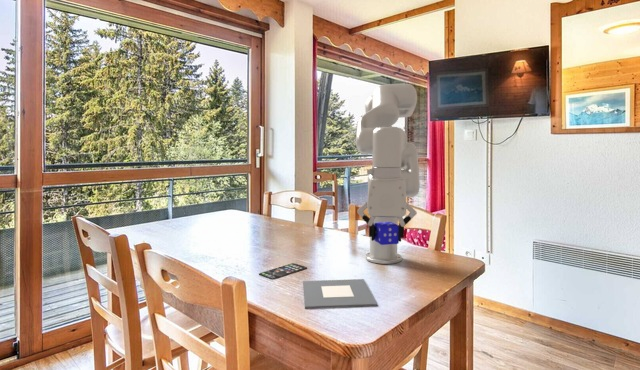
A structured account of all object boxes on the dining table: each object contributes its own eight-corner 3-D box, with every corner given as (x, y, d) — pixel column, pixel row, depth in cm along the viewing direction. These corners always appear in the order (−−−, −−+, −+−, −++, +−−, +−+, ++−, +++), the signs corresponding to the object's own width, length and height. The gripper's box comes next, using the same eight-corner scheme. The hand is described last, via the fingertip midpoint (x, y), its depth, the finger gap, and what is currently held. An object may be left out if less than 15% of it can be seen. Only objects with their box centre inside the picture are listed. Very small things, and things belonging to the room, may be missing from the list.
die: (398, 243, 101) (399, 225, 100) (381, 245, 99) (381, 226, 99) (390, 239, 106) (391, 221, 105) (374, 240, 104) (374, 222, 104)
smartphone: (257, 273, 119) (293, 262, 130) (257, 275, 119) (293, 264, 130) (272, 279, 114) (308, 267, 124) (272, 281, 114) (308, 269, 124)
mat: (303, 282, 111) (303, 280, 111) (363, 280, 112) (363, 278, 112) (305, 308, 93) (304, 306, 93) (377, 305, 95) (377, 303, 94)
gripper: (353, 174, 98) (353, 242, 100) (421, 175, 96) (420, 244, 97) (355, 172, 106) (355, 235, 108) (419, 172, 103) (417, 237, 105)
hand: (386, 239), depth 102 cm, fingers closed on die, 6 cm apart
